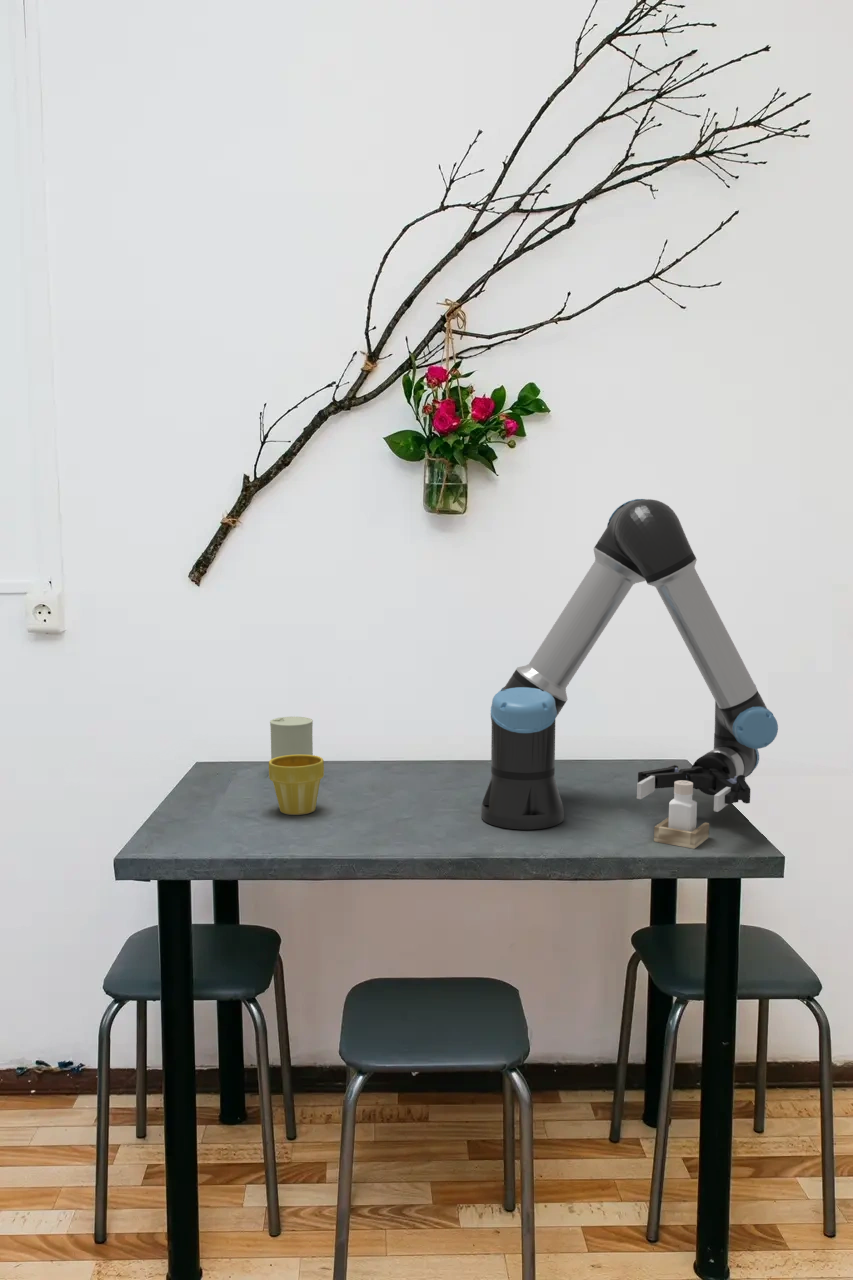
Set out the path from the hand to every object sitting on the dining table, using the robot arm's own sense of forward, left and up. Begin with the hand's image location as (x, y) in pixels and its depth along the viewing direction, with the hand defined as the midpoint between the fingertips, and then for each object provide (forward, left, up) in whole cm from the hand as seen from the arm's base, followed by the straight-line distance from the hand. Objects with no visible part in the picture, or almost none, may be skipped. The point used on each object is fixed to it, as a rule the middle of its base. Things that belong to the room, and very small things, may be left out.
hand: (676, 797), depth 181 cm
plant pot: (-67, -20, -9) cm, 70 cm away
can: (-86, +1, -9) cm, 86 cm away
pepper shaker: (0, +3, -8) cm, 8 cm away
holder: (0, +3, -8) cm, 9 cm away
